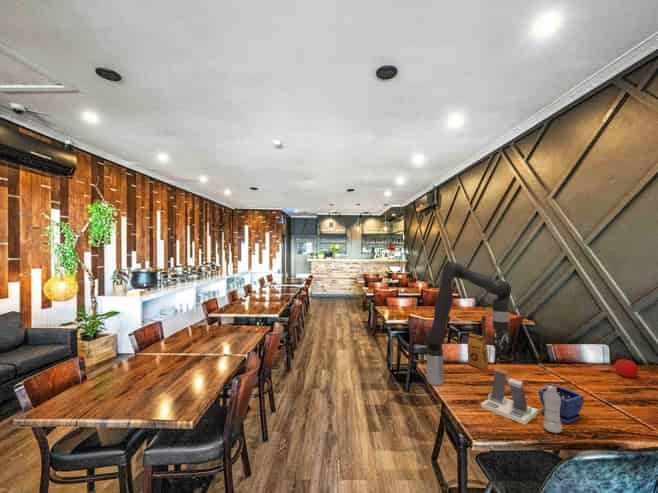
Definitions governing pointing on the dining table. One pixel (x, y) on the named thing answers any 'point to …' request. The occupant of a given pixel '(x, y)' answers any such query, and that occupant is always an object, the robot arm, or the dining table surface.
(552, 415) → the plastic bottle
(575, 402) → the flower pot
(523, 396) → the lever grey
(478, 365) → the coffee package
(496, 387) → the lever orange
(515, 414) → the switch unit
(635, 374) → the tomato
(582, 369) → the dining table surface
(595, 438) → the dining table surface
